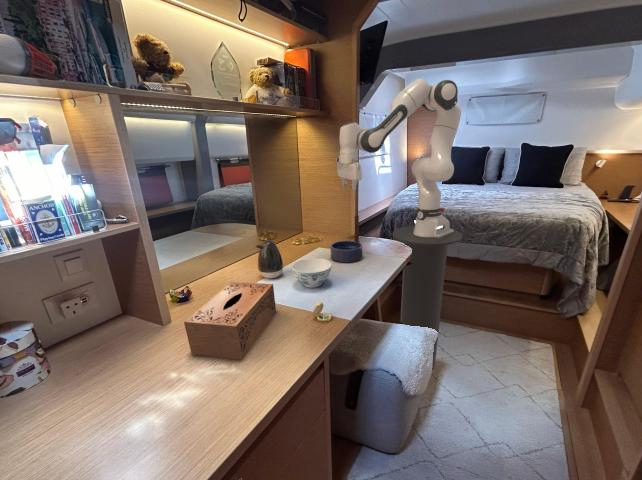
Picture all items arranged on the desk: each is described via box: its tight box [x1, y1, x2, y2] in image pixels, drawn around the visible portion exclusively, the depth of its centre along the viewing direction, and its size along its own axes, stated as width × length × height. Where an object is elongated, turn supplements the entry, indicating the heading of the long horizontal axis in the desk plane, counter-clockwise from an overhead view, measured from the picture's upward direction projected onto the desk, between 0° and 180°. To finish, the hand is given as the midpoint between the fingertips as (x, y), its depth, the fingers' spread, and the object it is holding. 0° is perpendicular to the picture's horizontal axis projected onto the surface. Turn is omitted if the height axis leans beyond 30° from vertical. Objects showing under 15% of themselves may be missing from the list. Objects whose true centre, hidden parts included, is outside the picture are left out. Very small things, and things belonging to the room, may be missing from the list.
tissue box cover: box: [183, 281, 277, 361], centre depth 98 cm, size 26×14×10 cm, turn 168°
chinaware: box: [291, 257, 333, 288], centre depth 128 cm, size 15×15×8 cm
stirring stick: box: [354, 214, 361, 243], centre depth 166 cm, size 3×3×16 cm
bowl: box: [329, 240, 363, 263], centre depth 154 cm, size 14×14×6 cm
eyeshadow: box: [312, 301, 332, 323], centre depth 104 cm, size 4×5×5 cm
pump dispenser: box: [255, 239, 285, 279], centre depth 136 cm, size 10×10×15 cm
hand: (349, 188), depth 170 cm, fingers open, 8 cm apart
